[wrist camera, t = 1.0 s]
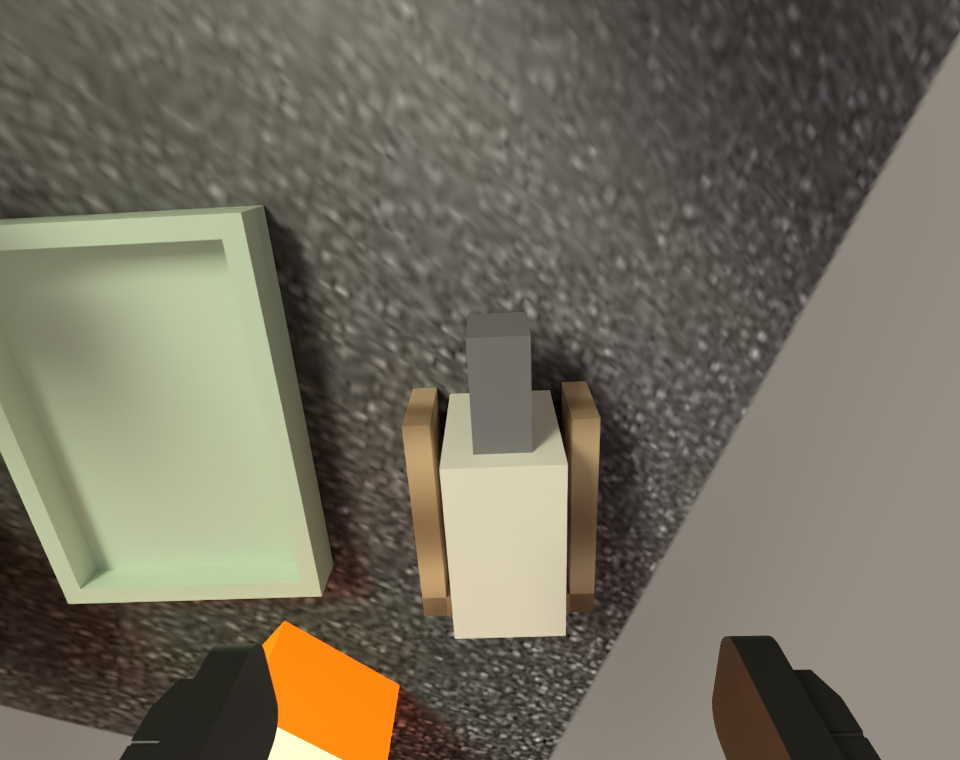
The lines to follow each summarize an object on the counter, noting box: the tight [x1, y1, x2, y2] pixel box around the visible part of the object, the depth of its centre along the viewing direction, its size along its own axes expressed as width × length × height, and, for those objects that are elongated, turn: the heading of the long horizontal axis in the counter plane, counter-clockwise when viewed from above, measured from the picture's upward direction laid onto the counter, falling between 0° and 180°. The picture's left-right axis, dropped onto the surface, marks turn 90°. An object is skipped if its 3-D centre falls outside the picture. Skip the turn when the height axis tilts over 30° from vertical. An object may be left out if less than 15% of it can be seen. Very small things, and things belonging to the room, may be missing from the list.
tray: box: [0, 205, 333, 604], centre depth 28 cm, size 20×14×2 cm
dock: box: [402, 381, 601, 616], centre depth 29 cm, size 11×9×4 cm
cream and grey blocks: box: [439, 312, 568, 639], centre depth 26 cm, size 14×5×7 cm, turn 3°
